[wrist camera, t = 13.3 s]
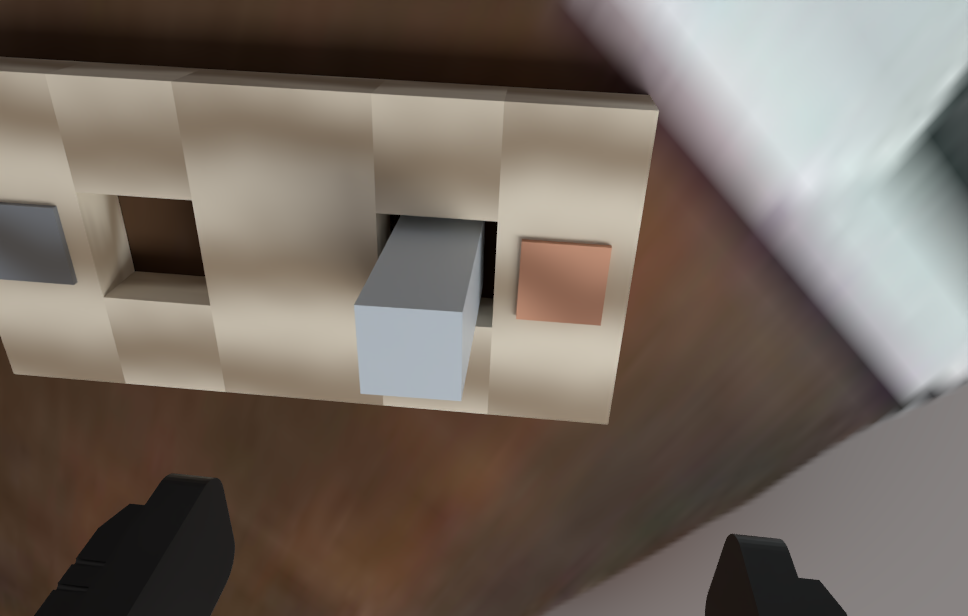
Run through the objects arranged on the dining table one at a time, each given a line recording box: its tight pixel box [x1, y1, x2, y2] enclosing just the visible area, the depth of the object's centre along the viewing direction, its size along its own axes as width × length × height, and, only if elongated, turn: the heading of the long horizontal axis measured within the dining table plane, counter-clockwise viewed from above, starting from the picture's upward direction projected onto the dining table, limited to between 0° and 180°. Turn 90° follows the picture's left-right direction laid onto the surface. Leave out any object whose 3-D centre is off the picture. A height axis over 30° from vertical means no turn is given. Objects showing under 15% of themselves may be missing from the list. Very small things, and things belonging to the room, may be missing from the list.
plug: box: [354, 215, 485, 401], centre depth 30 cm, size 4×4×10 cm
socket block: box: [0, 57, 659, 424], centre depth 34 cm, size 16×32×3 cm, turn 88°
